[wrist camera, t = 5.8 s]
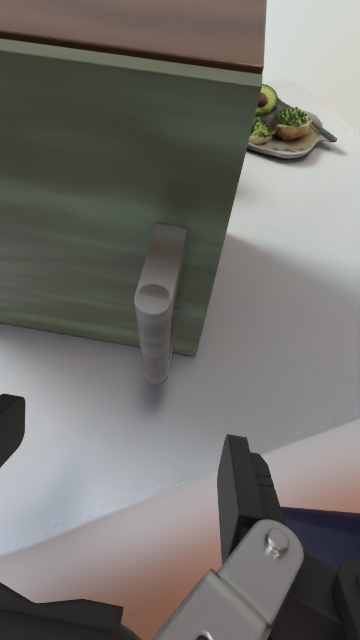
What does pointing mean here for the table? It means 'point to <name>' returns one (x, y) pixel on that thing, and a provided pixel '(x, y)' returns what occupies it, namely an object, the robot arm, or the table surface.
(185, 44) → the cupboard
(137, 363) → the table surface
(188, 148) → the cupboard door
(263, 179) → the table surface
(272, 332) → the table surface
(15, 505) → the table surface
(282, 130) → the salad plate
